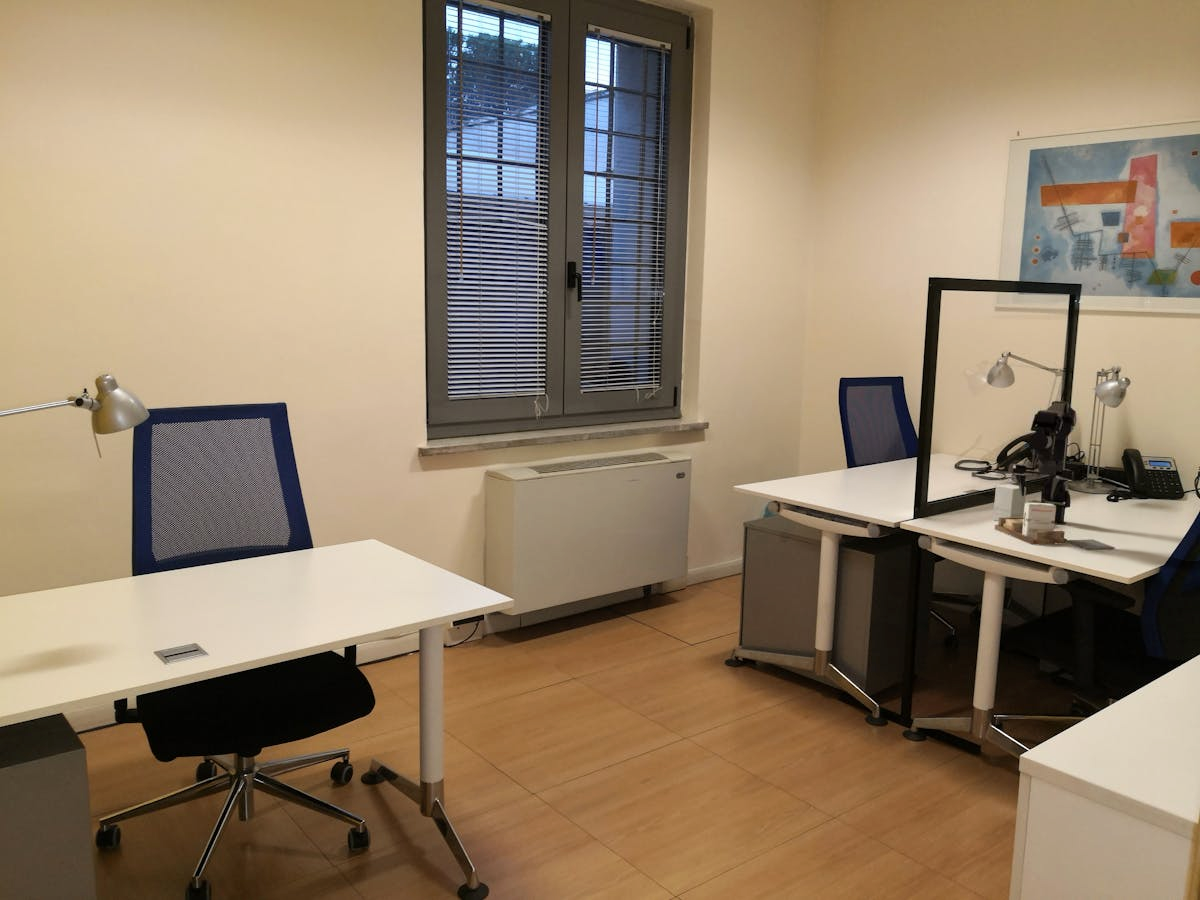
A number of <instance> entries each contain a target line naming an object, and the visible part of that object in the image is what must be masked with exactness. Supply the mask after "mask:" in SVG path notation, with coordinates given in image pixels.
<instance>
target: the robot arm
mask: <svg viewBox="0 0 1200 900" xmlns="http://www.w3.org/2000/svg"><path fill="white" fill-rule="evenodd" d="M1077 420H1078V419H1077V413H1076V410H1075V409H1073V407H1072V406H1070V403H1069V402H1067V401H1059V400H1054V401H1052V402H1051V405H1050V406H1049V407H1048V408H1047V409H1045V410H1044V409H1041V410H1038V411H1037V413H1035V414H1034V416H1033V420H1032V424H1031V428H1030V431H1031V432H1034V433H1032V434H1031V435H1030V437H1029V439H1028V445H1029V447H1030V448H1031V449H1033V451H1032V462H1031V464H1030V467H1029V466H1028V467H1027V465H1024V464H1019V463H1018V464H1017V463H1010V464H1009V466H1008V469H1007V470H1008V473H1010V474H1011V473H1012V474H1011V475H1012V476H1014V477H1015V479H1016V482H1017V486H1019V488H1020V492H1021V496H1024V492H1025V485H1026V479H1027V475H1025V474H1027V473H1028V474H1036V475H1037V474H1038V475H1045V476H1049V478H1048V480H1046V482H1045V483H1044V485H1043V487H1042V488H1041V491H1040V492H1041V493H1040V495H1041V496H1040V503H1047V504H1053V505H1055V506H1056V513H1055V523H1054V525H1066V524H1067V521H1065V513H1066V512H1065V511H1066V508H1071V504H1072V503H1071V494H1070V490H1068V489H1069V484H1068V482H1069V480H1074V477H1075V476H1074V475H1075V473H1074V471H1073V470H1071V469H1067V468H1065V467H1066V457H1067V448H1068V447H1067V446H1068V437H1069V436H1070V435H1071V433H1072V432H1073V431H1074V429H1075V427H1076V425H1077Z"/></svg>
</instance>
